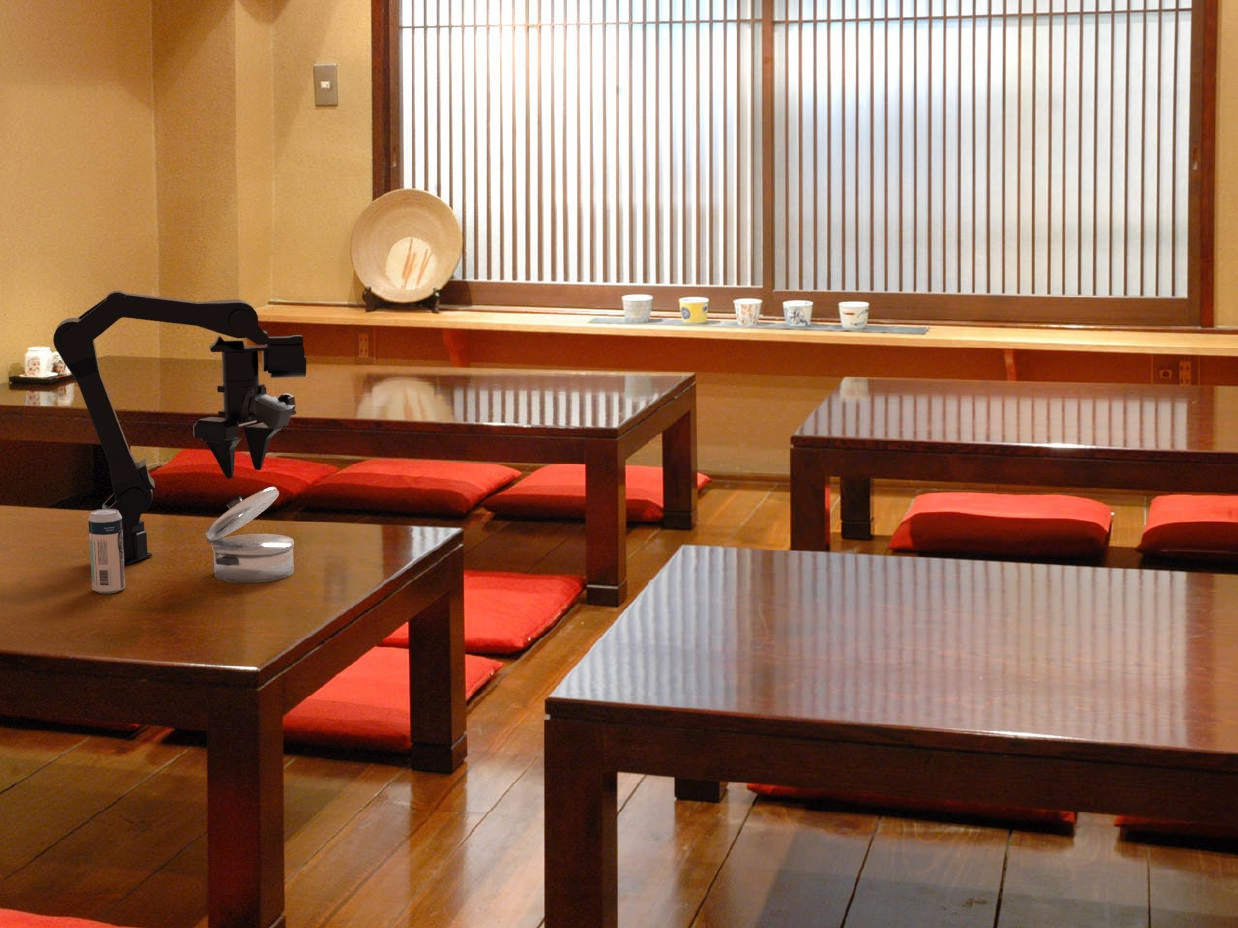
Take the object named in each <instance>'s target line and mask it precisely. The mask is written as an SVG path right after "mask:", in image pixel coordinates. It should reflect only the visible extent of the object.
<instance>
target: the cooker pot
mask: <svg viewBox="0 0 1238 928" xmlns="http://www.w3.org/2000/svg"><path fill="white" fill-rule="evenodd" d="M294 547H295V541H294V539H293V538H292V537H289V536H287V535H283V534H276V533H275V534H273V533H247V534H244V533H243V534H237V535H230V536H227V537H226V536H225V537H223V538H222V539H219V540H217V541H215V542H213V543H211V549H212V551H213V563H214V564H213V565H214V566H213V567H214V570H213V571H214V577H215V578H216V579H218V580H220V581H223V582H228V583H236V584H259V583H260V584H261V583H269V582H275V581H278V580H279V581H280V580H283V579H285V578H289V577H290V576H292V575H293V574H294V572H295V571H294V568H295V567H294V566H295V565H294Z"/></svg>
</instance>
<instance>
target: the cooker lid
mask: <svg viewBox="0 0 1238 928" xmlns="http://www.w3.org/2000/svg"><path fill="white" fill-rule="evenodd" d="M279 495H280V491H279V490H278V489H277V487H275V486H270V487H267V488H264V489H262V490H259V491H257V492H256V493H253V494H252V495H249V496H248V497H246V498H244V499H243V498H242V497H241V496H237V497H236V498H233V499H232V500H230V501H229V502H228V503H227V504H226V506H227V507H228V508H229V509H228V510H227V511H226V512H224V513H223V514H222V515H220V516H219V517H218V518H217V519H215V521H214V522H213V523H212V524H211V525H210V526H209V527H208V529H207V530H206V531H205V536H206V537H207V540H206V541H207V543H208V544H211V545H212V544H213V543H214V542H215V541H217V540H219V539H222V538H225V537H226V536H227V535H230V534H231V533H234V532H235V531H237V530H238V529H240V528H242V527H244V526H245V525H246V524H248V523H250V522H251V521H252V520H254V519H256V517H258V516H259V515H261V514H262V513H263V512H264V511H266V510H267V509H268V508H269V507H270V506H271V505H272V504H273V503H274V502H275V501H276V500H277V498H278V497H279Z"/></svg>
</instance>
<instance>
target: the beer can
mask: <svg viewBox="0 0 1238 928" xmlns="http://www.w3.org/2000/svg"><path fill="white" fill-rule="evenodd" d="M87 520H88V522H87V523H88V537H89V538H88V539H89V554H90V555H89V556H90V571H91V590H93V591H95V592H96V593H98V594H103V595H107V594H108V595H109V594H116V593H119V592H121V591H122V590H124V589H125V588H126V576H125V575H126V574H125V573H126V572H125V571H126V570H125V564H124V552H123V533H122V516H121V515H120V513H119V511H118V510H115V509H96V510H92V511H91V513H90V515H89V516H88V518H87Z"/></svg>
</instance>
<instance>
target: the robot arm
mask: <svg viewBox="0 0 1238 928" xmlns="http://www.w3.org/2000/svg"><path fill="white" fill-rule="evenodd" d="M122 318H125V319H127V318H128V319H134V320H143V321H152V322H161V323H169V324H178V325H185V326H195V327H199V328H202V329H205V330H208V331H211V332H214V333H217V334H221V335H224V336H227V337H230V338H235V339H237V340H235V339H234V340H225V339H224V338H222V336H221V335H218V336H217V337H216V339H215V341H214V342H213V343H211V344H210V345H209V346H208V348H209V350H210V352H212V353H221V371H222V372H221V374H222V376H221V377H222V384H219V385H217V386H216V387H217V391H216V392H217V393H222V397H223V398H222V399H223V410H218V411H217V413H218V415H217V416H218V417H217V416H209V417H204V418H200V419H197V420H196V421H195V423H194V424H193V425H192V429H193V431H192V432H193V438H194V439H197V438H198V439H200V440H201V442H204V443H205V444H206V445H207V447H208V449H209V450H210V451H211V453H212V455H213V457H214V458H215V460H216V462H217V463H218V466H219V467H220V470H221V471H222V473H223V475H224V477H225V478H226V479H229V480H232V479H233V478H234V475H235V474H234V472H235V460H236V459H235V457H236V454H235V453H236V447H237V445H238V444H239V443H240V442H241V441H242V438H243V437H239V436H238V434H239V432H240V429H242V428H243V432H244V437H245V440H246V444H247V447H248V450H249V451H248V452H249V455H250V459H251V462H252V465H253V468H254V470H255V471H262V469H263V464H264V462H265V459H266V455H267V451H268V447H269V446H270V442H271V440H272V437H274V435H275V434H277V433H278V431H281V430H282V429H283V427H287V426H289V423H290V419H291V417H292V416H295V415H296V414H297V410H296V400H295V396H294V395H293V394H290V393H288V392H286V393H283V394H281V395H279V397H278V396H275V395H274V396H272V395H271V396H270V395H269V394H268V393H267V387H266V385H265V383H264V384H263V383H260V372H259V371H260V369H259V366H260V365H259V352H261V365H262V372H263V373H266V372H267V374H269V378H270V379H278V378H279V379H280V378H287V379H288V378H306V376H307V356H306V354H305V353H306V352H305V346H304V345H305V344H304V336H303V335H301V334H293V335H289V336H286V335H285V336H268V332H267V331H266V330H264V329H262V328H261V327H260V325H259V316H258V313H257V311H256V309H254V307H253V306H252V305H251V304H250V303H249V302H247V301H245V300H243V299H236V298H234V299H217V300H209V301H208V300H206V301H193V300H184V299H177V298H170V297H169V298H168V297H161V296H151V295H143V294H138V293H127V292H124V291H122V290H113V291H111V292H109V293H108V294H106V296H105V297H104V298H103V299H102V300H100V301H99V302H98V303H96V304H94V305H93V306H92V307H90V308H89V309H87V310H86V311H85V312H84V313H82V314H81V315H79V317H70V318H66V319H64V320H62V321H61V322H60V323H59V324H58V325H57V326H56V328H55V331H54V333H53V339H52V341H53V345H54V348H55V350H56V352H57V353H58V355H59V356H60V358H61V360H62V361H63V363H64V364H65V367H66V368H67V369H68V370H69V372H70V373H71V375H72V377H73V378H74V380H75V381H76V383H77V386H78V388H79V390H80V393H81V396H82V399H83V401H84V403H85V406H86V408H87V411H88V413H89V416H90V418H91V421H92V424H93V427H94V429H95V431H96V432H95V433H96V435H97V436H98V440H99V442H100V444H101V447H102V450H103V453H104V455H105V458H106V460H107V462H108V467H109V468H108V469H109V474H110V481H111V486H112V492H113V494H112V495H110V497H108V499H107V500H106V501H104V503H103V504H102V507H101V508H102V509H115V510H118V511H119V513H120V515H121V516H122V533H123V552H124V566H125V565H131V564H134V563H136V562H138V561H142V560H145V559H148V558H150V557H153V553H152V552H148V538H147V537H148V536H147V535H148V533H147V531H146V530H145V521H144V520H141V517H142V516H141V515H142V514H145V513H146V512H147V511H148V510H149V509H150V508H151V505H152V504H153V500H154V499H153V498H154V497H153V495H154V494H153V491H155V490H156V486H155V480H154V479H153V478H152V476H151V475H150V472H149V470H148V469H149V468H148V465H147V459H145V458H144V459H142V460H141V461H139V462H138V461H137V459H136V458H135V457H134V454H132V451H131V450H130V447H129V444H128V443H127V439H126V437H125V434H124V432H123V429H122V426H121V424H120V421H119V419H118V416H117V413H116V410H115V408H114V406H113V403H112V401H111V398H110V396H109V393H108V390H107V387H106V384H105V382H104V379H103V377H102V375H101V371H100V365H99V359H98V353H97V348H96V342H95V340H96V339H97V338H98V337H99V336H101V335H102V334H103V333H104V332H106V330H109V328H110V327H112V326H113V325H114V324H115V323H117V322H118V321H119V320H120V319H122ZM239 339H240V340H239ZM243 339H248V340H249V341H251V342H252V343H254V344H256V345H245V344H244V343H245V342H244V340H243ZM237 436H238V437H237Z"/></svg>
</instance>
